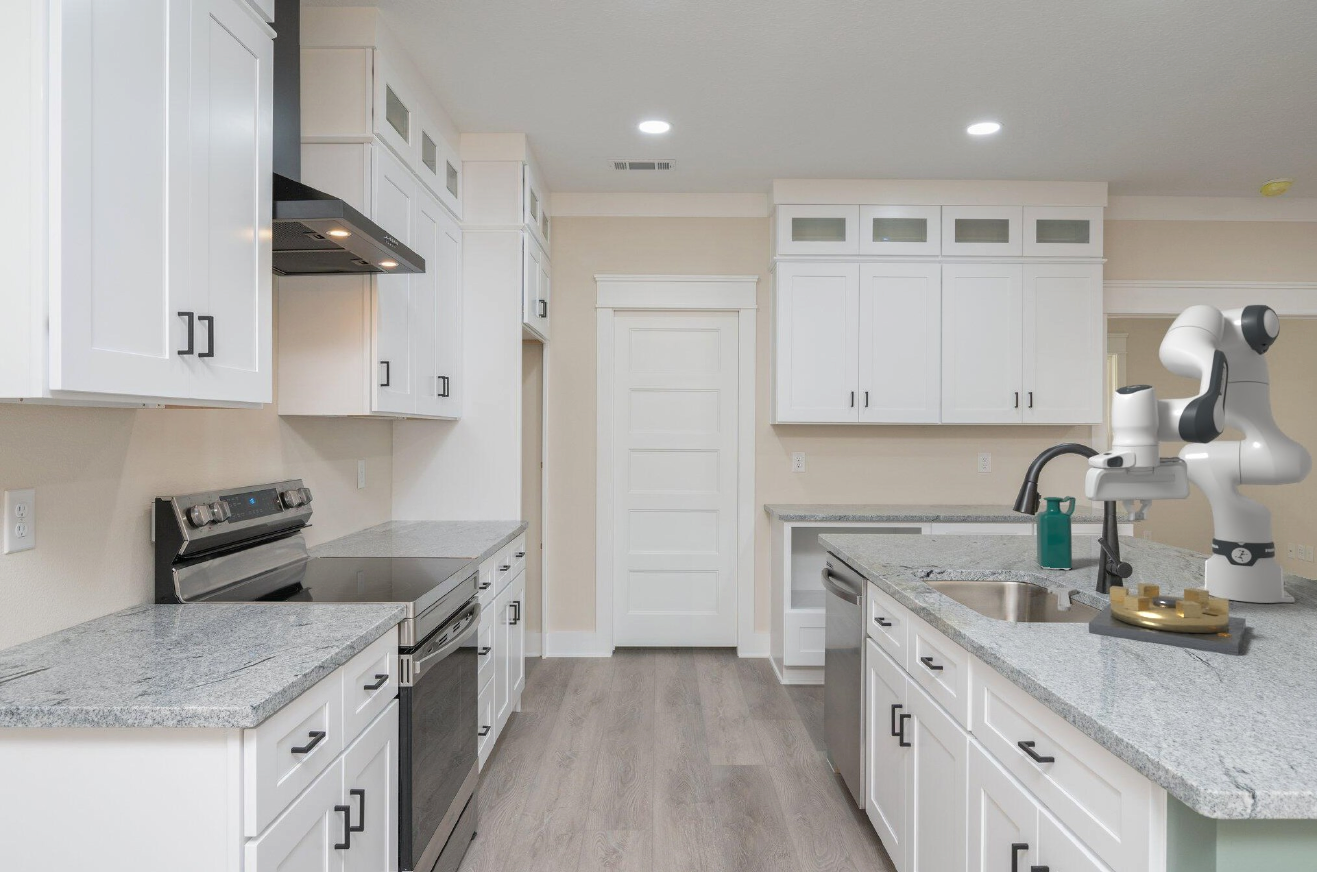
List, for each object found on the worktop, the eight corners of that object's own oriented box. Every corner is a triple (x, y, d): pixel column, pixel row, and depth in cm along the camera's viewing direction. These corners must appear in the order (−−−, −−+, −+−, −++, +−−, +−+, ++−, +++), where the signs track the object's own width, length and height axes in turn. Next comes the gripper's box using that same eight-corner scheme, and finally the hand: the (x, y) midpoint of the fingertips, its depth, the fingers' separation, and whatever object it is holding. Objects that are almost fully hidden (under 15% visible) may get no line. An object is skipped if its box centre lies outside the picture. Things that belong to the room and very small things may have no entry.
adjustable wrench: (1071, 613, 164) (1070, 606, 164) (1039, 610, 167) (1039, 603, 167) (1077, 592, 184) (1077, 585, 184) (1049, 589, 188) (1049, 583, 188)
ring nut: (1088, 612, 153) (1088, 587, 153) (1156, 604, 159) (1155, 580, 159) (1180, 637, 134) (1180, 608, 134) (1253, 626, 140) (1253, 599, 140)
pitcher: (1042, 569, 214) (1041, 497, 214) (1036, 564, 222) (1034, 495, 222) (1078, 571, 211) (1077, 497, 211) (1071, 566, 219) (1069, 495, 219)
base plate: (1111, 610, 164) (1111, 601, 164) (1245, 628, 148) (1245, 617, 148) (1088, 632, 146) (1088, 622, 146) (1238, 655, 130) (1237, 643, 130)
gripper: (1178, 455, 158) (1179, 516, 158) (1080, 458, 161) (1082, 519, 161) (1195, 457, 152) (1197, 521, 152) (1094, 460, 154) (1095, 523, 155)
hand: (1137, 520), depth 156 cm, fingers closed
